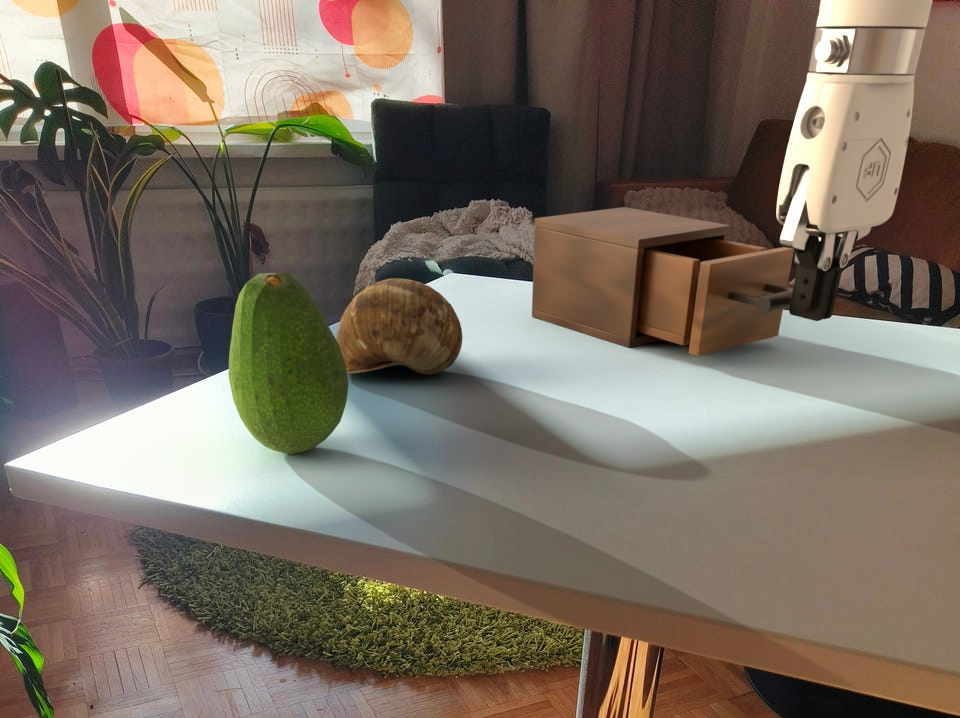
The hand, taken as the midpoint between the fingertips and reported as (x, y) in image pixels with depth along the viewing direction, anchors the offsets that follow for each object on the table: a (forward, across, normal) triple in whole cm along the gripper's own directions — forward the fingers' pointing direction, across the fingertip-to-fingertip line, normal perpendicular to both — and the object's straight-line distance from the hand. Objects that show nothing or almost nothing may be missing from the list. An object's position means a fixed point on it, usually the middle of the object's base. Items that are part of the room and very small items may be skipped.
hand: (809, 316), depth 76 cm
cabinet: (+5, 0, +22) cm, 23 cm away
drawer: (+4, 0, +11) cm, 12 cm away
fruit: (+6, -44, +11) cm, 45 cm away
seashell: (+5, -28, +21) cm, 36 cm away
